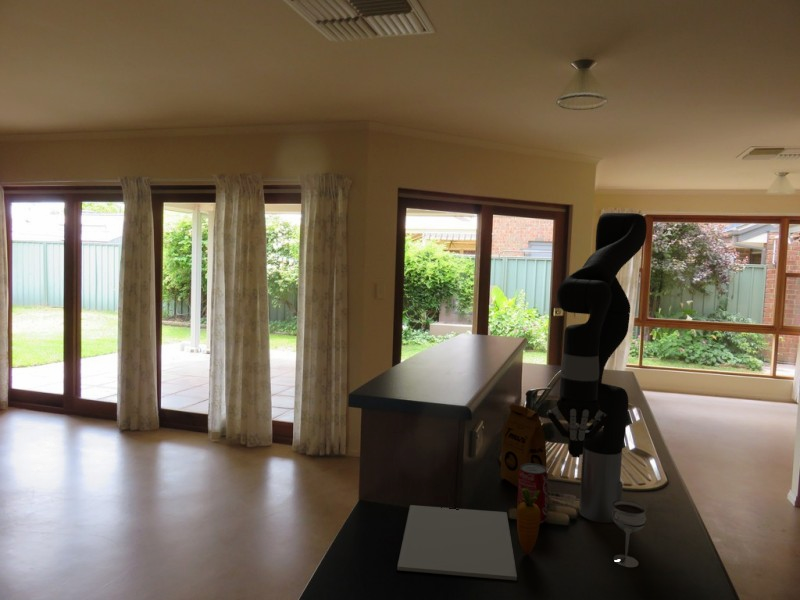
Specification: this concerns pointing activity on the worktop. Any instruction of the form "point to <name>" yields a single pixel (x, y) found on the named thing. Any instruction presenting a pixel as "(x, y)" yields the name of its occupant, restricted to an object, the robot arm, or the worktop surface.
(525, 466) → the soda can
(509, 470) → the coffee package
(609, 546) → the worktop surface
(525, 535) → the carrot
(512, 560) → the rubber mat
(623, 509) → the wineglass
